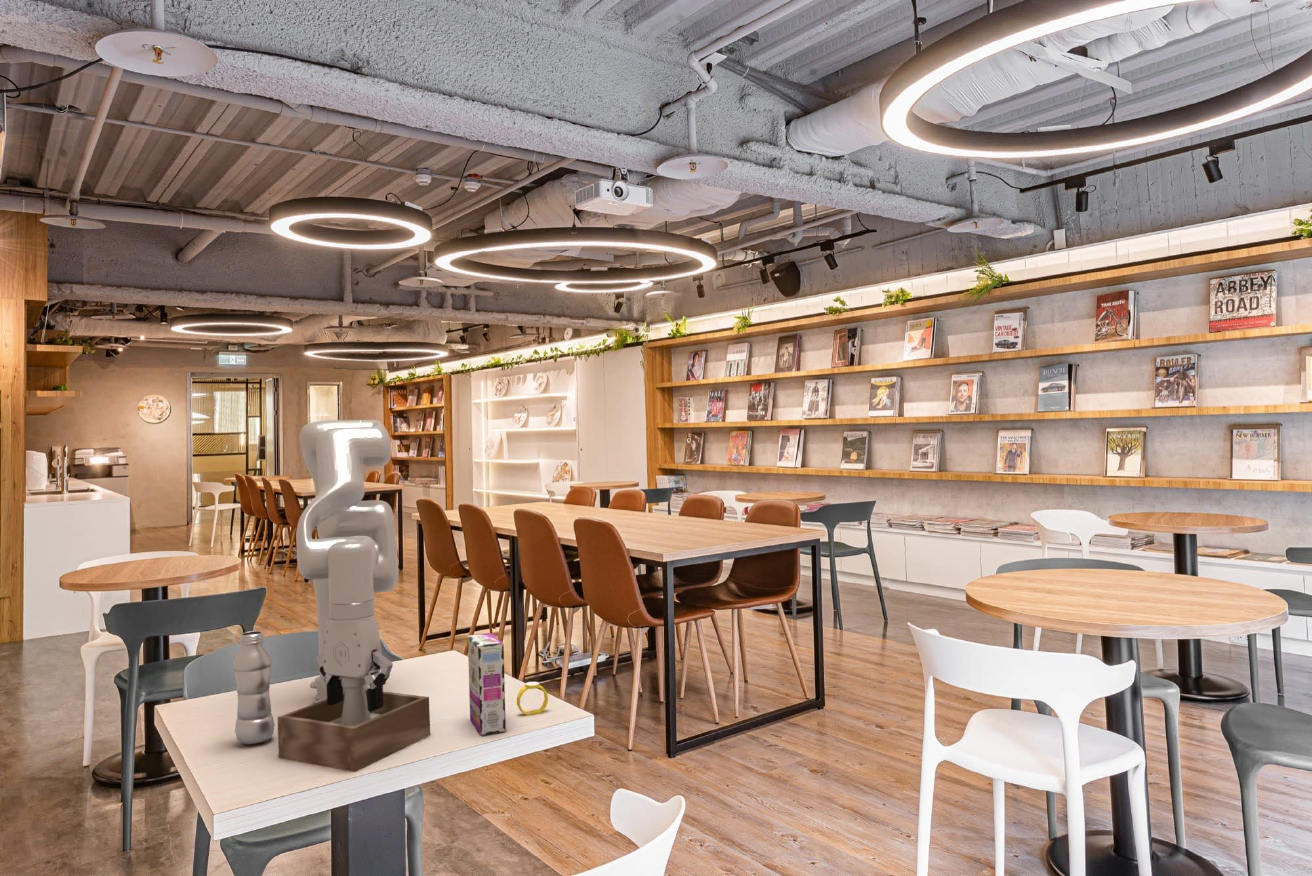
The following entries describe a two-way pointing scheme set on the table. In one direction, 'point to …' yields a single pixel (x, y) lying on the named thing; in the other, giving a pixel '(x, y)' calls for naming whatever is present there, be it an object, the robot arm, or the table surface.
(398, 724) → the box
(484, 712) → the candy bar box
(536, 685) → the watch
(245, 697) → the plastic bottle
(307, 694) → the table surface
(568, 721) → the table surface
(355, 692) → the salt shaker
